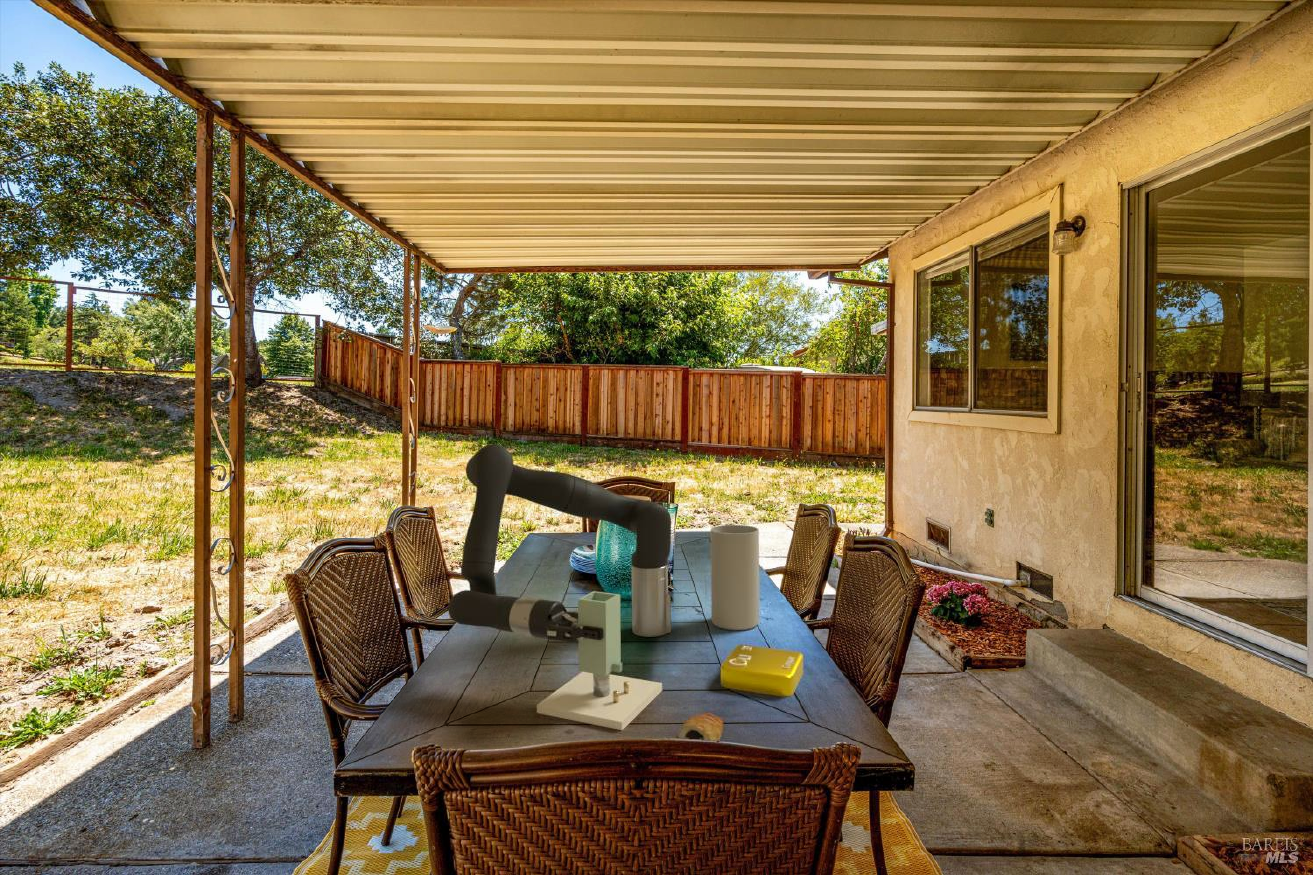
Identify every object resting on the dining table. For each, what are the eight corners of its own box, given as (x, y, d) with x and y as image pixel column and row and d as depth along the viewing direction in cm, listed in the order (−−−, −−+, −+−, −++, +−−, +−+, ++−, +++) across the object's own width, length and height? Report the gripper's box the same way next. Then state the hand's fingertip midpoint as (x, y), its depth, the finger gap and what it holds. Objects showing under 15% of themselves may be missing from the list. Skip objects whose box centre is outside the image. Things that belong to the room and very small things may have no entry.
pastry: (697, 721, 123) (697, 700, 122) (732, 728, 120) (732, 708, 119) (676, 744, 114) (675, 722, 114) (712, 753, 111) (712, 731, 111)
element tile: (791, 699, 131) (791, 675, 131) (718, 688, 137) (717, 665, 137) (804, 671, 145) (804, 649, 145) (737, 662, 151) (737, 641, 151)
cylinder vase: (705, 627, 173) (704, 532, 172) (719, 613, 185) (718, 523, 183) (752, 633, 168) (752, 535, 167) (764, 618, 180) (763, 526, 179)
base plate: (536, 712, 126) (535, 665, 126) (584, 676, 143) (583, 634, 142) (622, 730, 119) (621, 680, 119) (662, 690, 135) (661, 646, 135)
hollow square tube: (578, 670, 129) (578, 599, 128) (593, 659, 134) (593, 591, 134) (613, 677, 126) (613, 603, 125) (627, 665, 131) (627, 595, 131)
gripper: (516, 609, 129) (592, 620, 122) (556, 590, 142) (627, 599, 135) (516, 647, 130) (592, 661, 123) (557, 625, 143) (627, 636, 136)
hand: (610, 628), depth 129 cm, fingers closed on hollow square tube, 6 cm apart
